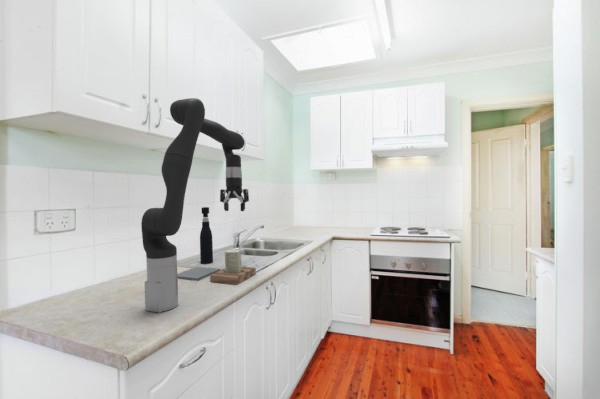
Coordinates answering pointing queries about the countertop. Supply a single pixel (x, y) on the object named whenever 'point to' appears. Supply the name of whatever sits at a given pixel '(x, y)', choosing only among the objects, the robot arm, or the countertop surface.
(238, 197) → the robot arm
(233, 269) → the skincare box
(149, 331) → the countertop surface
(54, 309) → the countertop surface
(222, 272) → the holder
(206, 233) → the wine bottle
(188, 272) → the mat
